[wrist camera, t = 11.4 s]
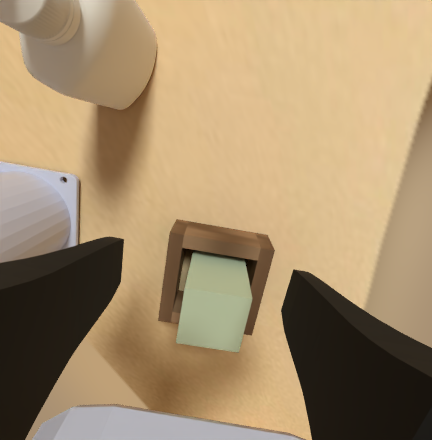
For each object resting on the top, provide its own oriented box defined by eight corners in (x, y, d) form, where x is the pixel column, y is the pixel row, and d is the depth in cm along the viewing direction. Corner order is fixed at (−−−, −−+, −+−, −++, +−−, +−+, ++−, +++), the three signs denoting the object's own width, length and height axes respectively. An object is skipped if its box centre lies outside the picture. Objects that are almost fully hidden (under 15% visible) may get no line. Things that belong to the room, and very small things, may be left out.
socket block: (165, 298, 23) (158, 320, 21) (176, 219, 21) (169, 232, 18) (248, 311, 24) (251, 335, 21) (267, 235, 21) (274, 250, 19)
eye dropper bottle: (75, 59, 18) (-183, -76, 6) (142, 8, 17) (-21, -256, 6) (114, 118, 19) (-47, 92, 8) (179, 74, 18) (107, -33, 7)
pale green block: (188, 283, 23) (175, 343, 16) (195, 241, 22) (184, 287, 15) (233, 290, 23) (238, 352, 17) (242, 249, 22) (252, 298, 15)
